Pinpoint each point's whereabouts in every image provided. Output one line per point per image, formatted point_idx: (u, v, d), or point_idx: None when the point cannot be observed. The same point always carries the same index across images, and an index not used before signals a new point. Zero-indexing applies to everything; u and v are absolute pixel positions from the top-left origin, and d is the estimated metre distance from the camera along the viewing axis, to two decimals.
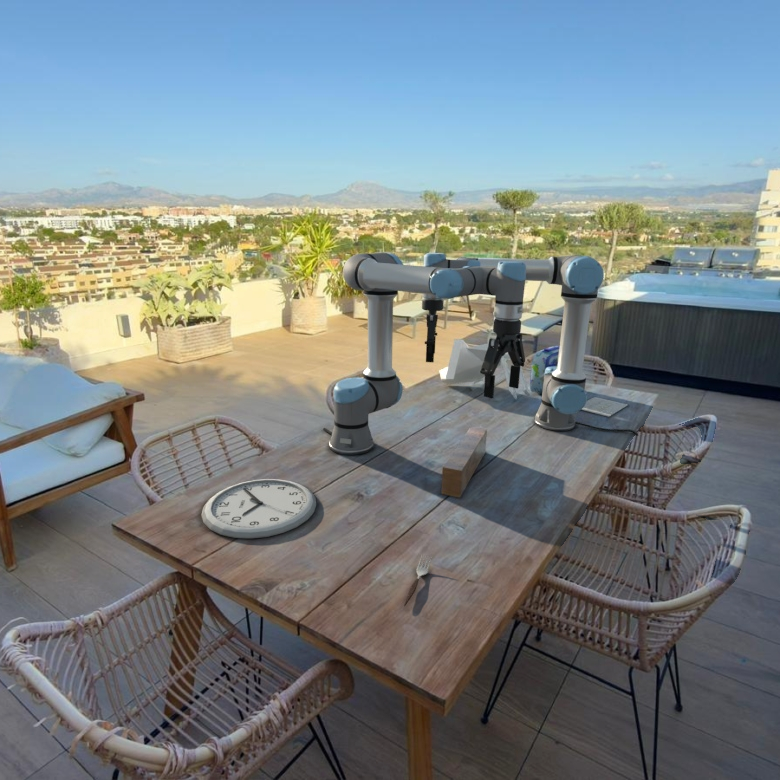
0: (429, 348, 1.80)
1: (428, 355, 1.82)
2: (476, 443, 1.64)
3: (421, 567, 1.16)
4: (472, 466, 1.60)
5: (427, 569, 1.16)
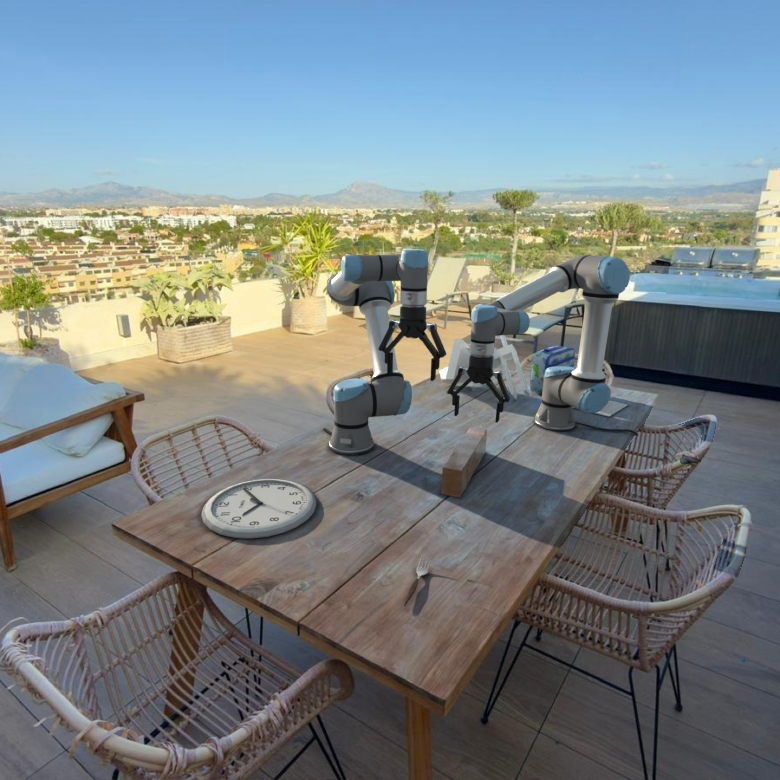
0: (503, 406, 1.67)
1: (498, 414, 1.68)
2: (476, 443, 1.64)
3: (421, 567, 1.16)
4: (472, 466, 1.60)
5: (427, 569, 1.16)
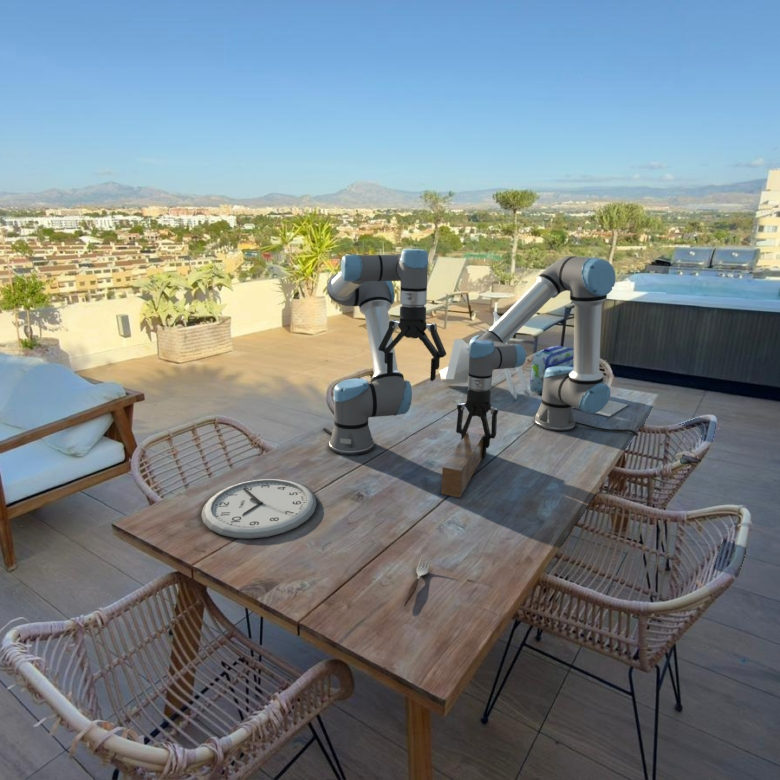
0: (489, 442, 1.72)
1: (485, 449, 1.73)
2: (476, 443, 1.64)
3: (421, 567, 1.16)
4: (472, 466, 1.60)
5: (427, 569, 1.16)
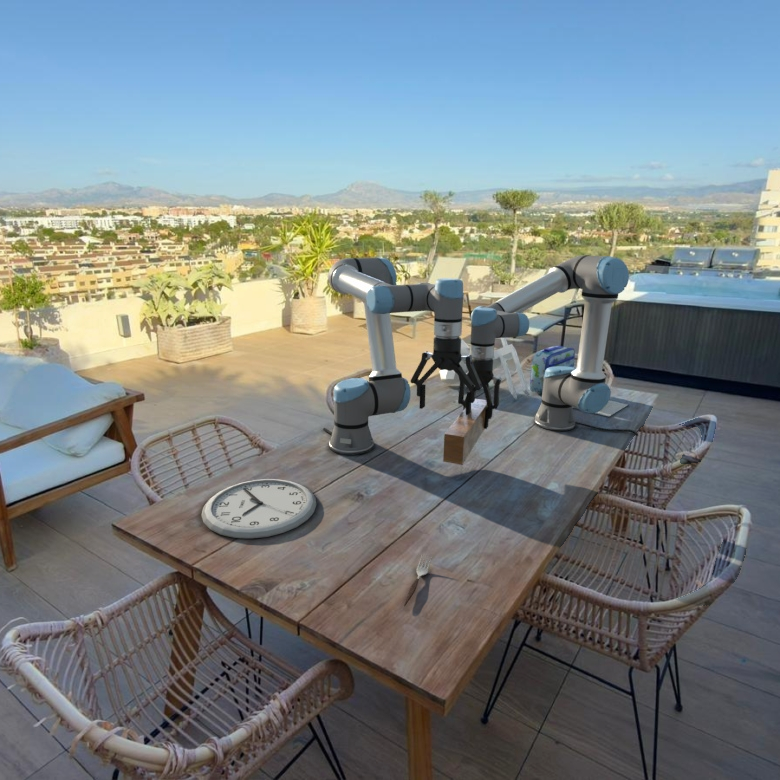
0: (491, 413, 1.69)
1: (487, 420, 1.70)
2: (478, 412, 1.61)
3: (421, 567, 1.16)
4: (474, 435, 1.57)
5: (427, 569, 1.16)
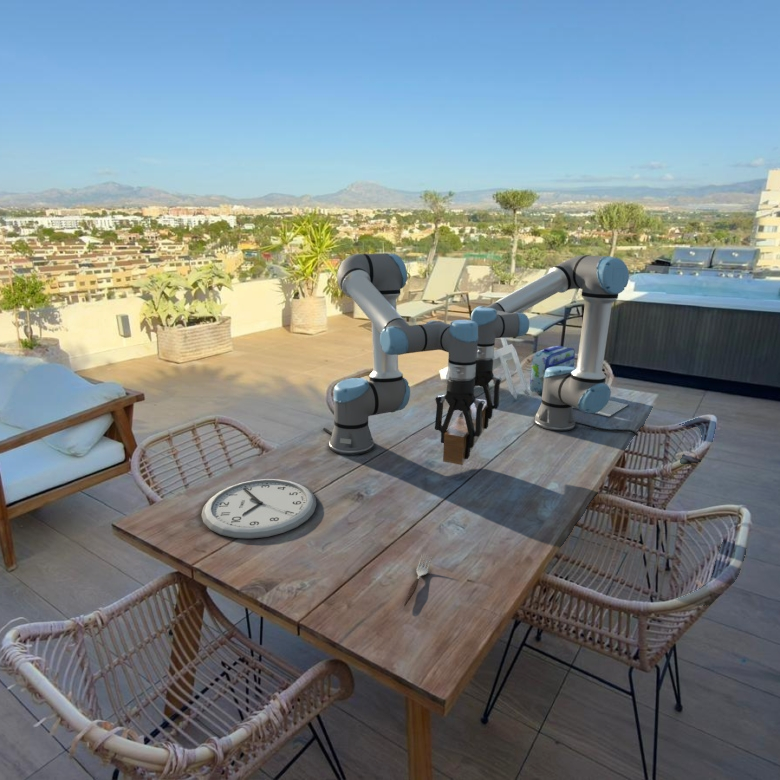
0: (491, 413, 1.69)
1: (487, 420, 1.70)
2: None
3: (421, 567, 1.16)
4: None
5: (427, 569, 1.16)
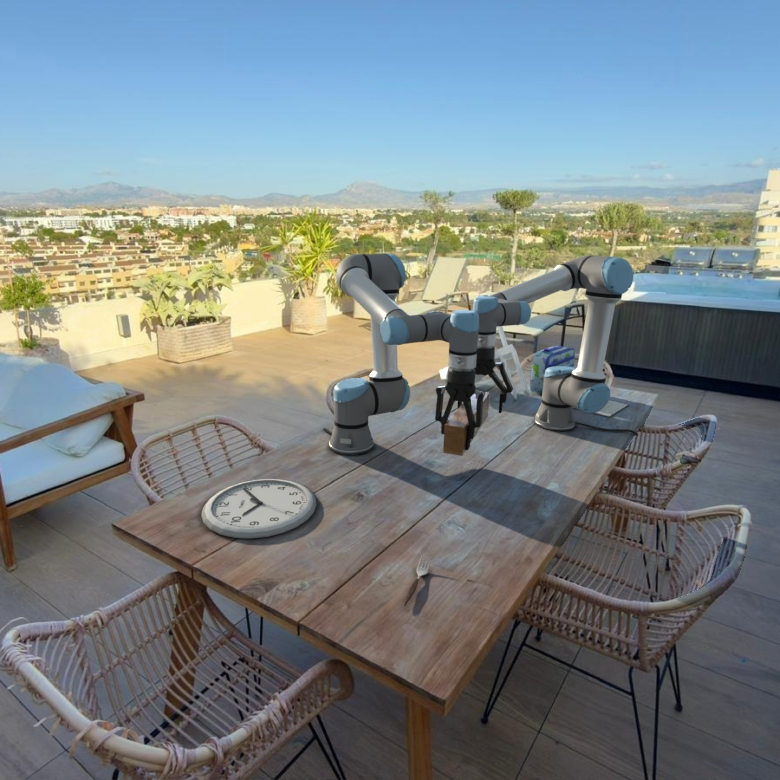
0: (506, 397, 1.67)
1: (501, 405, 1.68)
2: None
3: (421, 567, 1.16)
4: None
5: (427, 569, 1.16)
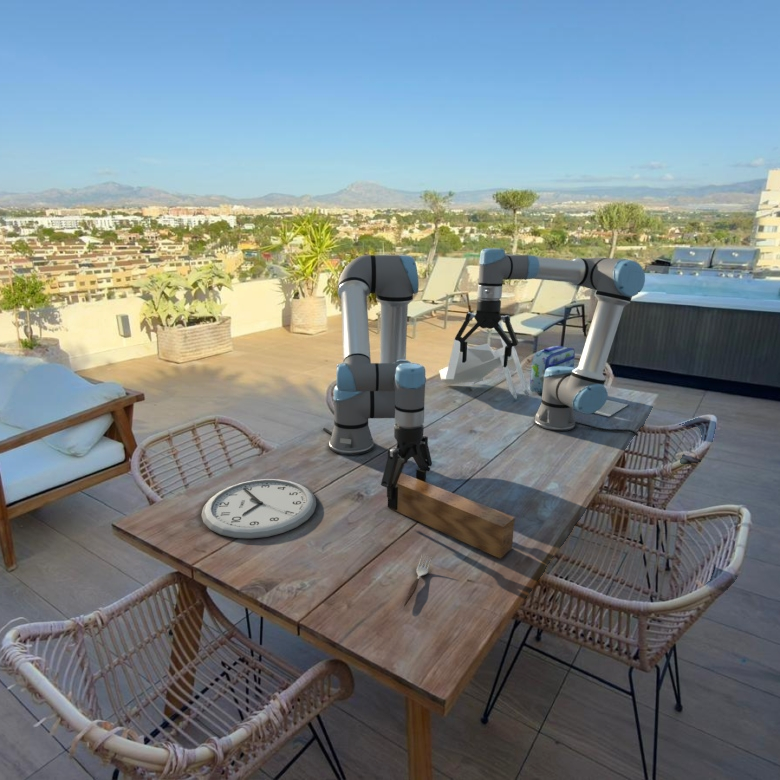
0: (511, 351, 1.67)
1: (506, 359, 1.68)
2: (455, 505, 1.27)
3: (421, 567, 1.16)
4: (431, 515, 1.32)
5: (427, 569, 1.16)
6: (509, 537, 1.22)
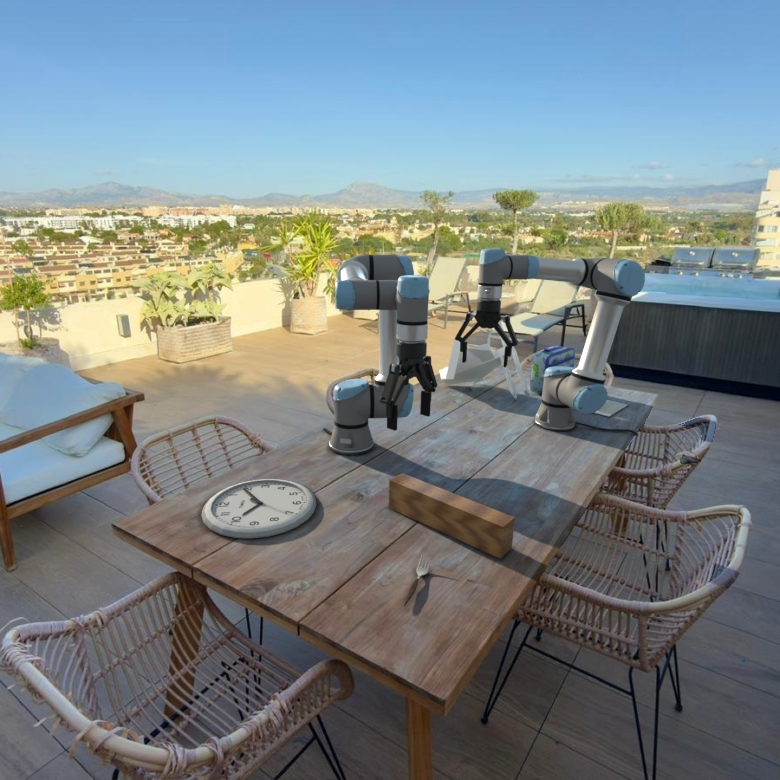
0: (511, 351, 1.67)
1: (506, 359, 1.68)
2: (455, 505, 1.27)
3: (421, 567, 1.16)
4: (431, 515, 1.32)
5: (427, 569, 1.16)
6: (509, 537, 1.22)
